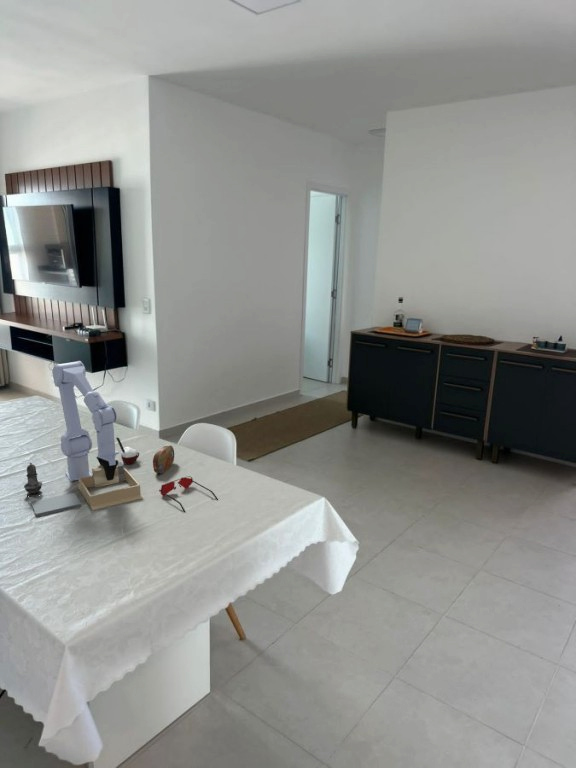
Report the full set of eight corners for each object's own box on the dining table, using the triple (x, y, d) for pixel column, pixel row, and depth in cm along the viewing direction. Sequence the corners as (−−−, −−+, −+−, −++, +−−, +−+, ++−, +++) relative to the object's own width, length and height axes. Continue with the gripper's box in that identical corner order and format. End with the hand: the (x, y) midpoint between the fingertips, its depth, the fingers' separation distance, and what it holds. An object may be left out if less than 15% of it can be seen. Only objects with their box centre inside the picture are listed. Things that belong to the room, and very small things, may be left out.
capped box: (93, 483, 187) (91, 467, 186) (121, 477, 192) (120, 461, 191) (95, 487, 184) (94, 471, 182) (124, 481, 189) (123, 465, 188)
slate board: (31, 504, 179) (31, 501, 179) (74, 494, 186) (74, 492, 186) (36, 516, 171) (35, 514, 171) (81, 506, 178) (81, 503, 178)
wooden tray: (77, 486, 193) (76, 475, 192) (124, 476, 203) (123, 466, 202) (92, 510, 176) (91, 499, 175) (143, 498, 185) (142, 487, 184)
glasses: (191, 485, 196) (191, 473, 195) (218, 500, 185) (218, 487, 183) (158, 497, 187) (157, 484, 185) (184, 513, 175) (184, 500, 174)
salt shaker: (47, 492, 188) (43, 460, 185) (34, 499, 183) (30, 466, 180) (33, 489, 190) (30, 458, 187) (21, 496, 185) (17, 464, 182)
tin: (159, 476, 203) (158, 456, 201) (152, 476, 203) (150, 455, 201) (175, 462, 217) (174, 442, 215) (168, 461, 217) (167, 442, 215)
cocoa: (138, 459, 220) (138, 431, 218) (141, 464, 214) (141, 436, 212) (114, 462, 215) (114, 434, 213) (117, 467, 210) (117, 438, 208)
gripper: (123, 445, 181) (125, 482, 184) (111, 433, 192) (114, 468, 196) (102, 449, 177) (105, 486, 180) (91, 436, 189) (94, 472, 192)
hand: (108, 477), depth 188 cm, fingers closed on capped box, 4 cm apart
